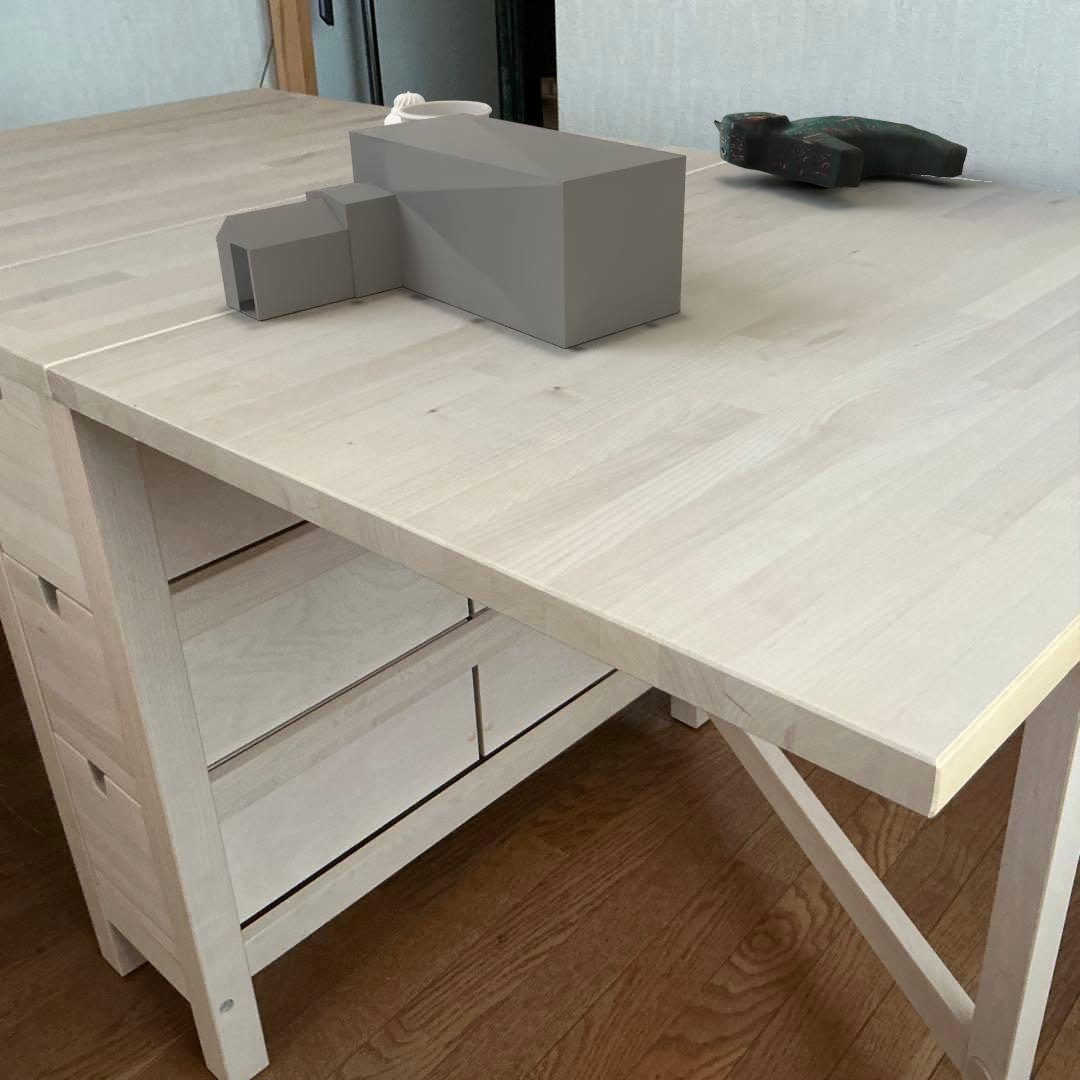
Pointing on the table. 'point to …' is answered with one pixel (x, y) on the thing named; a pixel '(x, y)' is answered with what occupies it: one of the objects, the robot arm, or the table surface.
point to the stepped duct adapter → (476, 229)
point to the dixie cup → (442, 109)
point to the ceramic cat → (835, 148)
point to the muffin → (401, 102)
